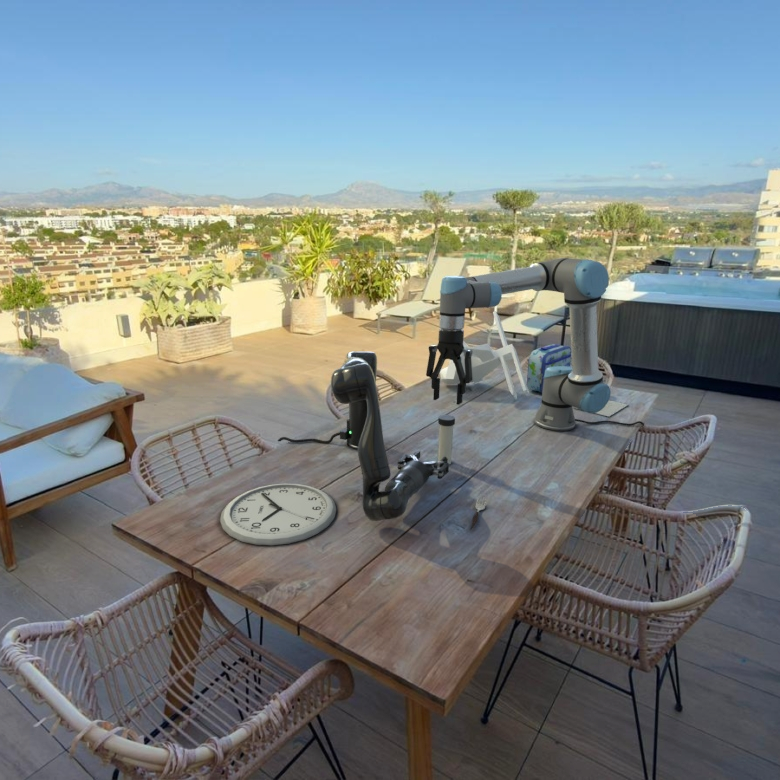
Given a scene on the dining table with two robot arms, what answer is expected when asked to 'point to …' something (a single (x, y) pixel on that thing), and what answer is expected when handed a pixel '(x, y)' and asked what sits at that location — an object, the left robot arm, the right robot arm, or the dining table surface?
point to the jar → (445, 442)
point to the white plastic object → (488, 362)
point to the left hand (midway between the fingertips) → (432, 456)
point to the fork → (478, 507)
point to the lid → (446, 420)
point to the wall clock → (278, 514)
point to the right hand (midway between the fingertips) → (447, 401)
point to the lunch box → (546, 363)
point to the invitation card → (611, 408)
